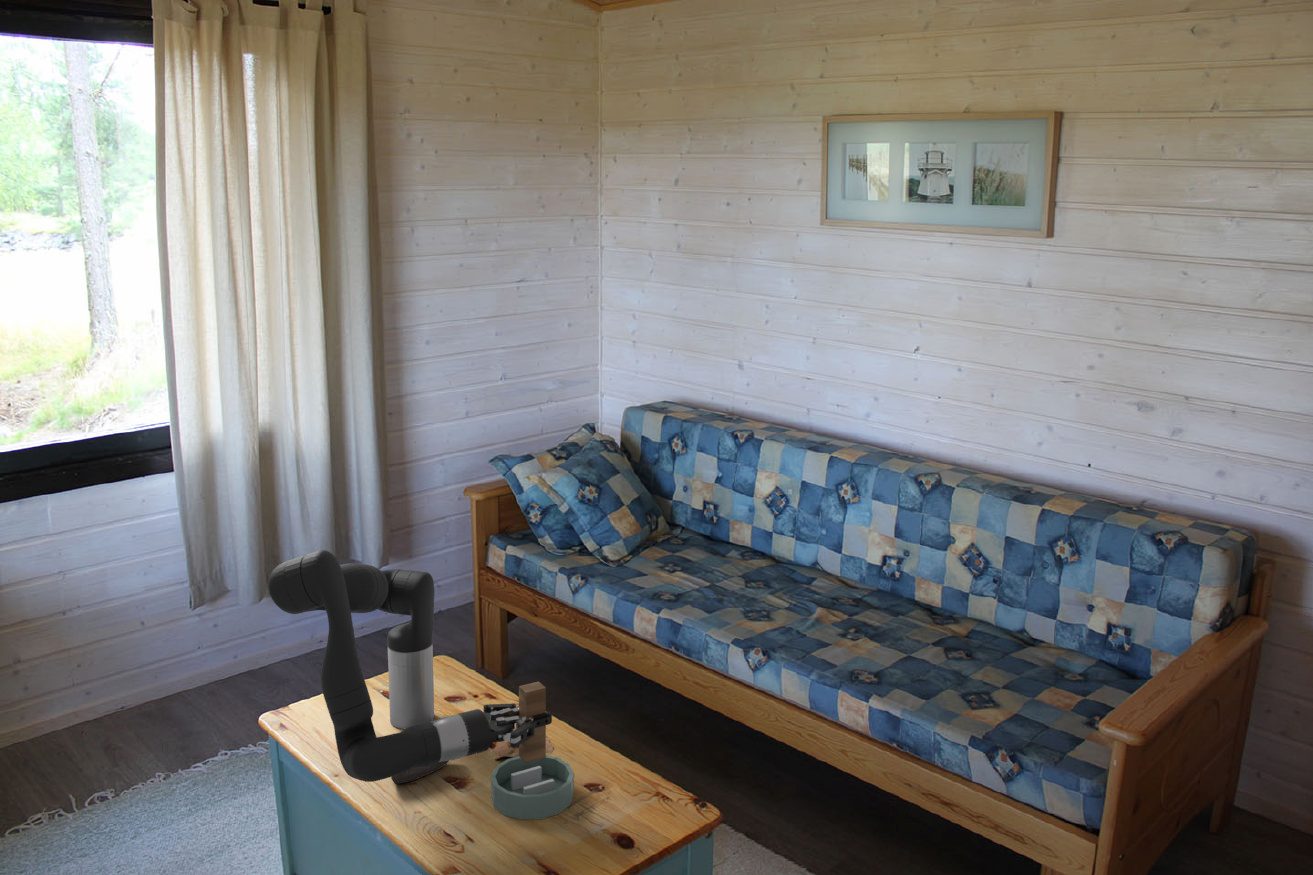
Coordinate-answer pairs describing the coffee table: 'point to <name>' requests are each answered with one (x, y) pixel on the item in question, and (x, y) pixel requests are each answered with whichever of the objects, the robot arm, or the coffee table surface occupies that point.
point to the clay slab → (514, 749)
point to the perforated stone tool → (417, 772)
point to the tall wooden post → (530, 705)
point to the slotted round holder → (532, 787)
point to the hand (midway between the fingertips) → (546, 713)
